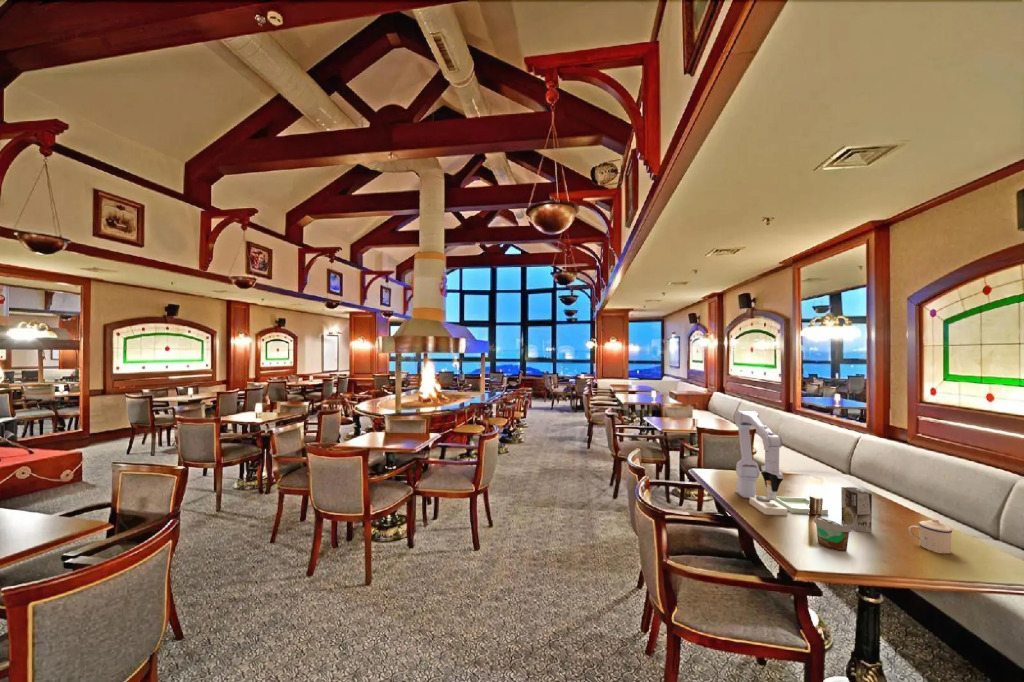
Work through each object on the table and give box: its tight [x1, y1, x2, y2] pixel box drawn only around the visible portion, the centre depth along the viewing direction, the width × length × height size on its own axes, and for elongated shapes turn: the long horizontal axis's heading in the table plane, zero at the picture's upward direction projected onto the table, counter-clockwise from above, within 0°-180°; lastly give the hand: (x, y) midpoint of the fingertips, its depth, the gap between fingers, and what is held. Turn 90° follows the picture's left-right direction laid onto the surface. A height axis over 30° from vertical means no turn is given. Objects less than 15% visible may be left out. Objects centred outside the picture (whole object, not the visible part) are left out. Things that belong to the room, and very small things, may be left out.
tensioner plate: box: [749, 495, 788, 516], centre depth 198 cm, size 14×10×4 cm
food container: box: [813, 515, 852, 553], centre depth 160 cm, size 12×6×10 cm, turn 22°
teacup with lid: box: [908, 517, 953, 554], centre depth 162 cm, size 12×9×12 cm
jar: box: [766, 479, 778, 501], centre depth 196 cm, size 5×5×8 cm
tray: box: [775, 496, 829, 516], centre depth 201 cm, size 16×16×2 cm
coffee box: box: [840, 486, 873, 533], centre depth 180 cm, size 9×6×16 cm
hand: (771, 489), depth 196 cm, fingers closed on jar, 4 cm apart
